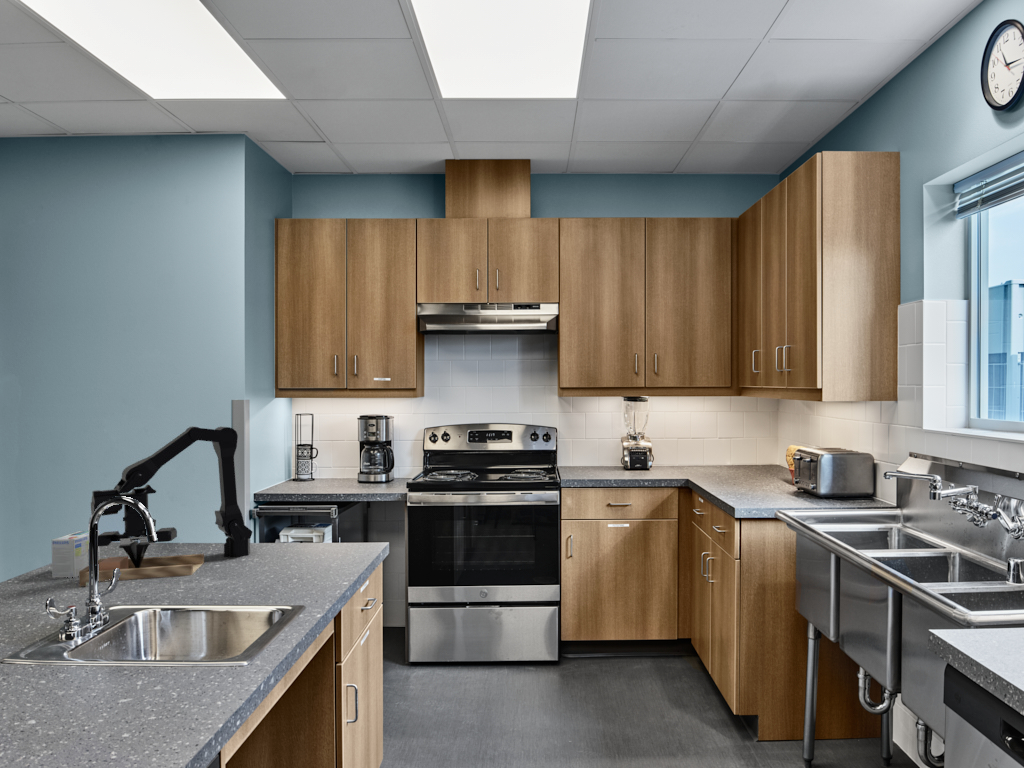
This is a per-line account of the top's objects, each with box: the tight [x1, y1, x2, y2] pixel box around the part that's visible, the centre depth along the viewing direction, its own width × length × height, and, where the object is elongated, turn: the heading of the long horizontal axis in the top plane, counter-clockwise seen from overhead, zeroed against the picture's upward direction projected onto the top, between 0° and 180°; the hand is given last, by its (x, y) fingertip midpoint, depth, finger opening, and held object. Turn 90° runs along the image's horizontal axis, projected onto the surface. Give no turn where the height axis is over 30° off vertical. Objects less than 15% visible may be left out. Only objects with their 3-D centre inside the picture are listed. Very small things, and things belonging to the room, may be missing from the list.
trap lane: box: [78, 553, 205, 588], centre depth 176 cm, size 27×13×4 cm, turn 102°
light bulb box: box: [51, 530, 101, 579], centre depth 181 cm, size 11×7×11 cm, turn 178°
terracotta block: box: [99, 555, 129, 571], centre depth 175 cm, size 5×6×4 cm
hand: (138, 568), depth 176 cm, fingers closed
